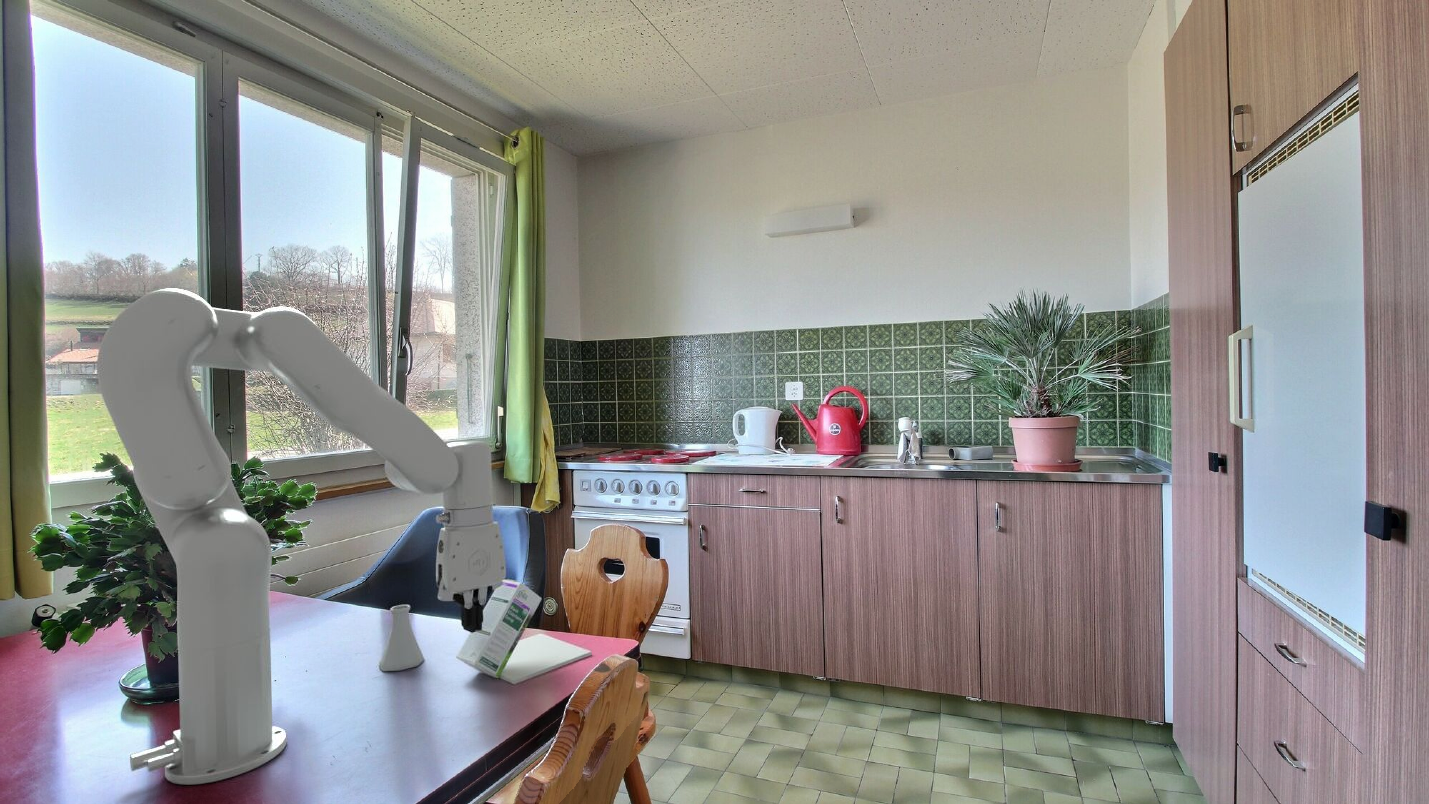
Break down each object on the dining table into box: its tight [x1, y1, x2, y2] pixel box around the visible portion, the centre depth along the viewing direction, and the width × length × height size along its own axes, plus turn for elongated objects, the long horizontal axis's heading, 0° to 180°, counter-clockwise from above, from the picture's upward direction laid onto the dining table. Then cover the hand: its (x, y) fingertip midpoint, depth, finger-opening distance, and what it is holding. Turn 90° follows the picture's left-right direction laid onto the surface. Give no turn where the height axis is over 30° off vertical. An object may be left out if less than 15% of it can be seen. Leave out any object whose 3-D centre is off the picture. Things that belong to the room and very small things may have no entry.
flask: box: [378, 604, 425, 672], centre depth 115 cm, size 7×7×10 cm
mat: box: [498, 633, 592, 685], centre depth 116 cm, size 16×16×1 cm
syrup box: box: [455, 579, 542, 679], centre depth 111 cm, size 6×6×14 cm
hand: (472, 629), depth 107 cm, fingers closed
